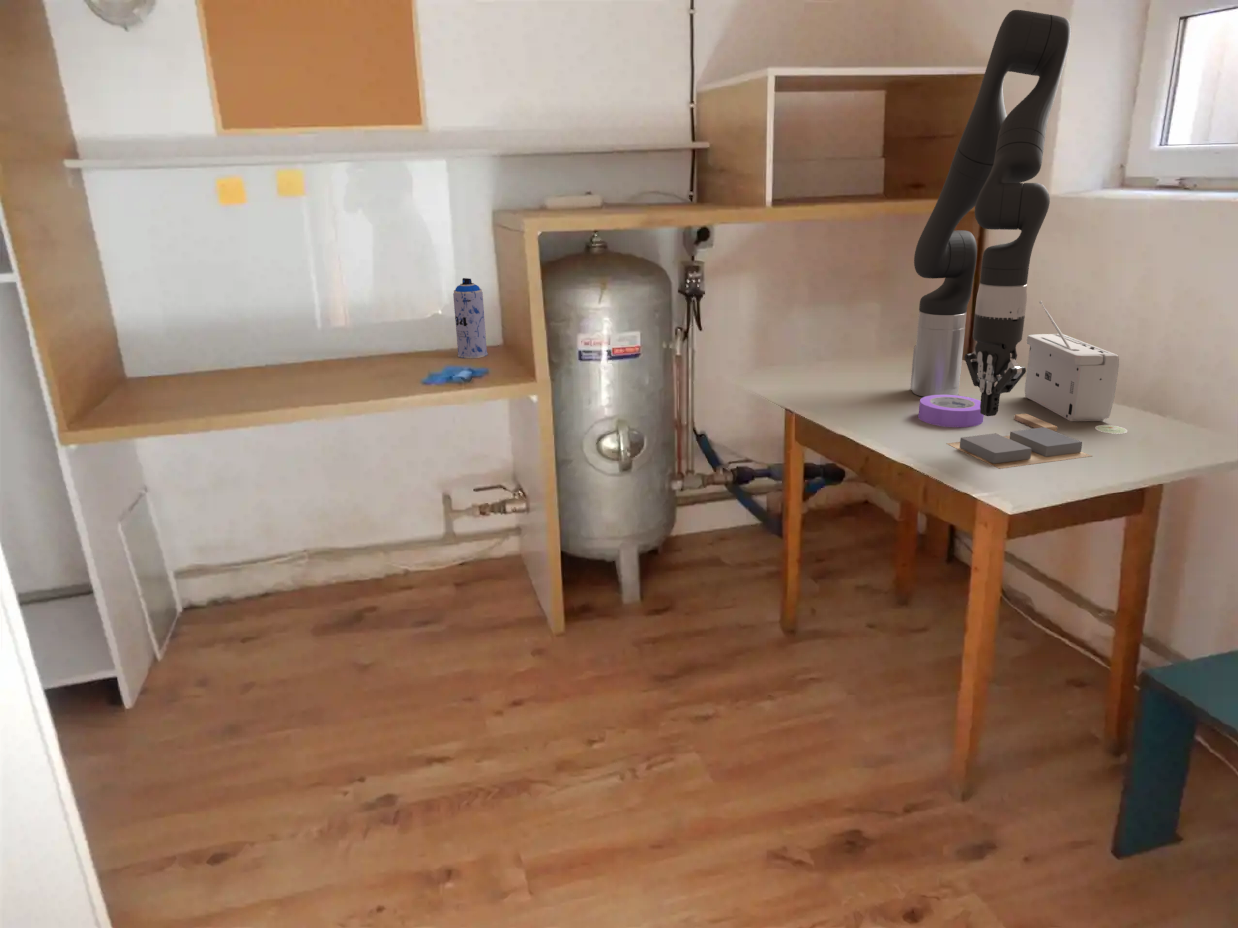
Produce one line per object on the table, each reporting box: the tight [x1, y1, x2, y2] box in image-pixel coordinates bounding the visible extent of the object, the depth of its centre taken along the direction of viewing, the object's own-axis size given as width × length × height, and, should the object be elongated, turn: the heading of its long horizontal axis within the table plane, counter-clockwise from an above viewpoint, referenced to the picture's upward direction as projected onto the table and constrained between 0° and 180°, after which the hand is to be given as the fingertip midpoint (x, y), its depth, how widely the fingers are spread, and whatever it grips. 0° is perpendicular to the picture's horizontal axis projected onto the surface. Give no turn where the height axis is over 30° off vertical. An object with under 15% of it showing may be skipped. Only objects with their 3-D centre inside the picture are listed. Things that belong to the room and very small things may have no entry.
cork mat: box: [946, 435, 1092, 470], centre depth 155 cm, size 14×18×1 cm
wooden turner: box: [1013, 413, 1058, 432], centre depth 165 cm, size 14×4×2 cm, turn 12°
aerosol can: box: [452, 277, 489, 359], centre depth 236 cm, size 8×8×20 cm
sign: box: [1094, 424, 1128, 435], centre depth 160 cm, size 5×1×15 cm
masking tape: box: [917, 395, 985, 428], centre depth 173 cm, size 12×12×4 cm
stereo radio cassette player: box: [1024, 300, 1120, 422], centre depth 175 cm, size 21×8×20 cm, turn 2°
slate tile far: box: [1009, 427, 1083, 457], centre depth 155 cm, size 2×7×9 cm
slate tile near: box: [959, 432, 1032, 464], centre depth 152 cm, size 2×7×9 cm
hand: (988, 414), depth 153 cm, fingers closed
